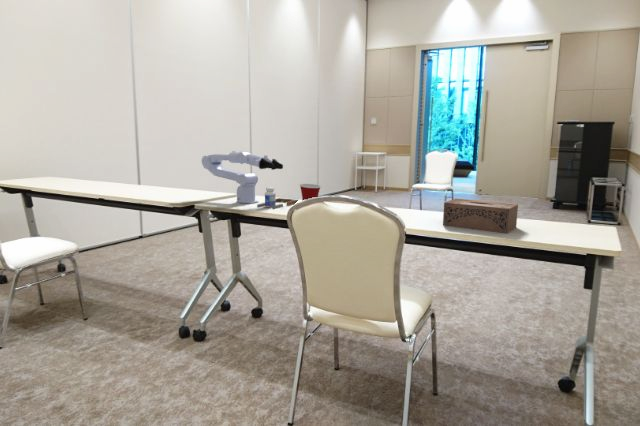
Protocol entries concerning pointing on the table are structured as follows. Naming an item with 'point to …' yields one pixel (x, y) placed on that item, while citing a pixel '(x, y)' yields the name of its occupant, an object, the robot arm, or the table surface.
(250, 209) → the table surface
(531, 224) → the table surface
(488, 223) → the tissue box cover
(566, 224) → the table surface
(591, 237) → the table surface
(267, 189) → the pill bottle
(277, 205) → the checker cradle
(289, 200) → the walnut trough
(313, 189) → the plastic cup
